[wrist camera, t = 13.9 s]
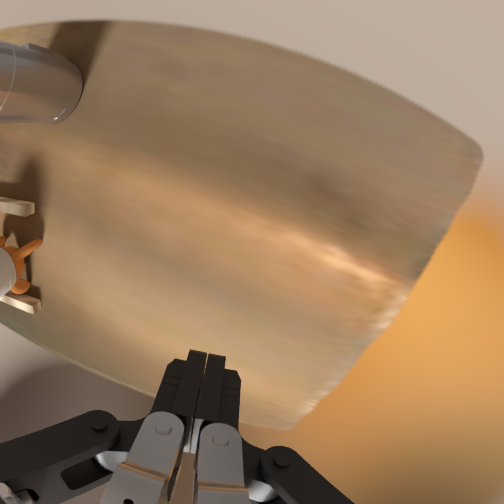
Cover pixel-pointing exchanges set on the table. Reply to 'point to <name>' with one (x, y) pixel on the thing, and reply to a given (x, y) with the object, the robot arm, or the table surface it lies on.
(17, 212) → the cradle
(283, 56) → the table surface
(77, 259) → the table surface
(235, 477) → the robot arm
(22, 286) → the toy rocket
